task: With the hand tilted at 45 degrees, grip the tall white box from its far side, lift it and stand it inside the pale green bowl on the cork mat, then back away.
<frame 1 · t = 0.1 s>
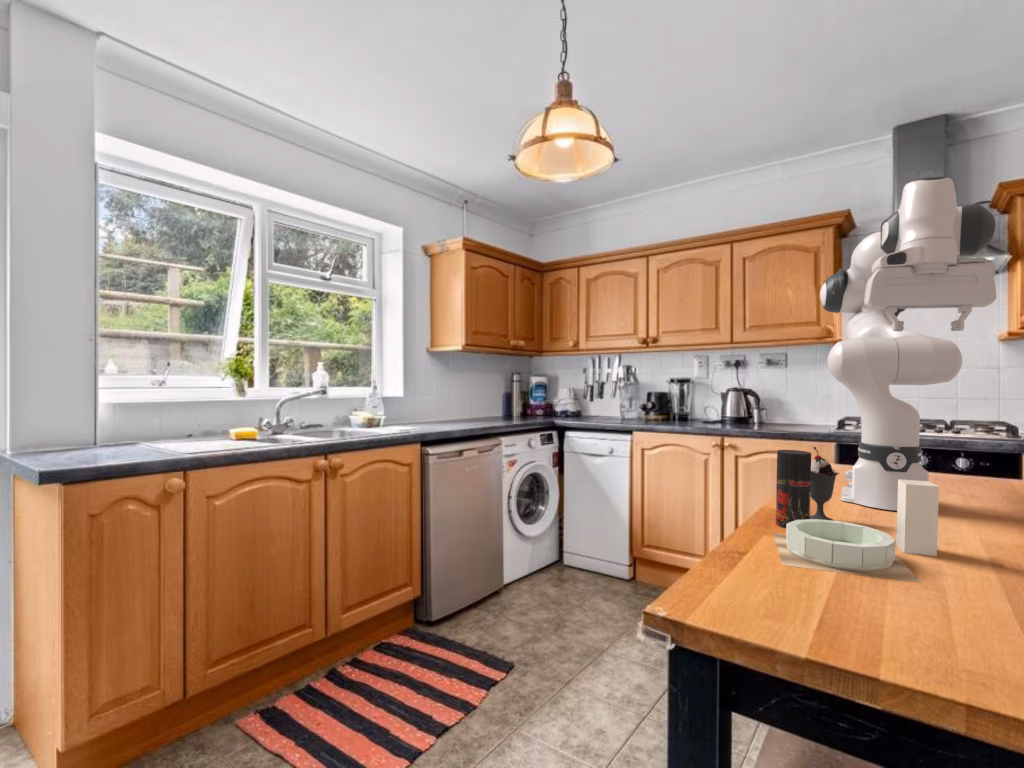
hand: (927, 330, 103), 39 cm above the table, tool pointing down, fingers open, 8 cm apart
deodorant: (792, 528, 106), on the table
tall white box: (915, 552, 92), on the table
cork mat: (837, 556, 89), on the table
sundae: (819, 520, 112), on the table
bowl: (837, 554, 89), resting on cork mat
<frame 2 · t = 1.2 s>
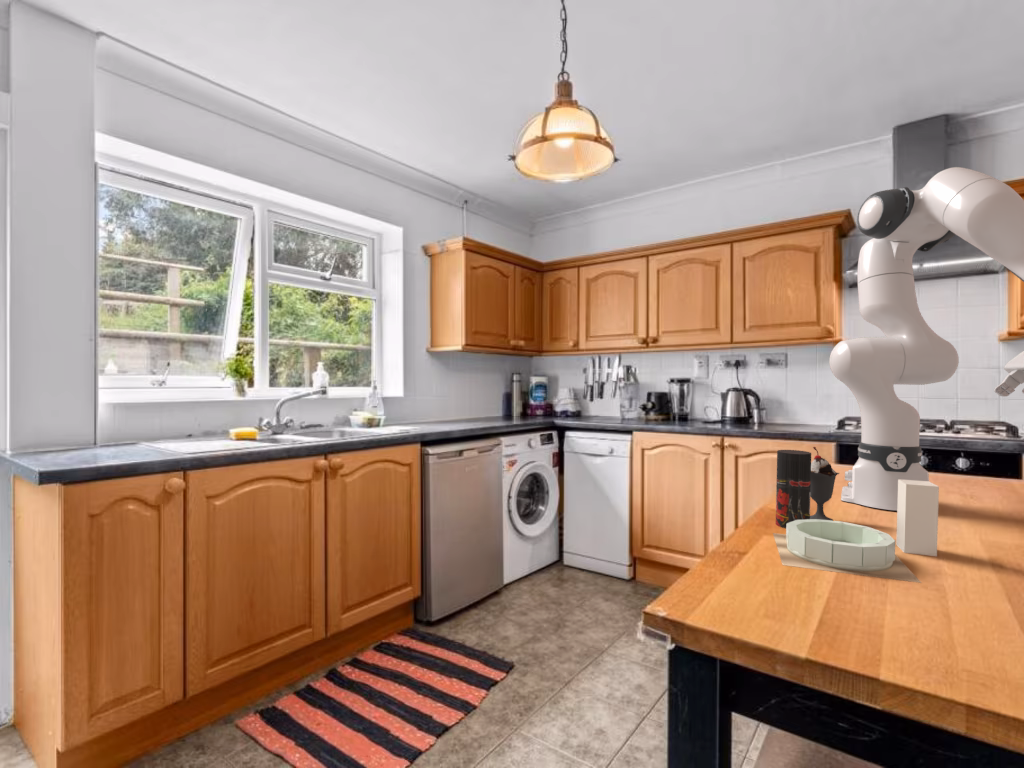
hand: (1012, 394, 87), 27 cm above the table, tool tilted 45°, fingers open, 8 cm apart
nothing on the table moved.
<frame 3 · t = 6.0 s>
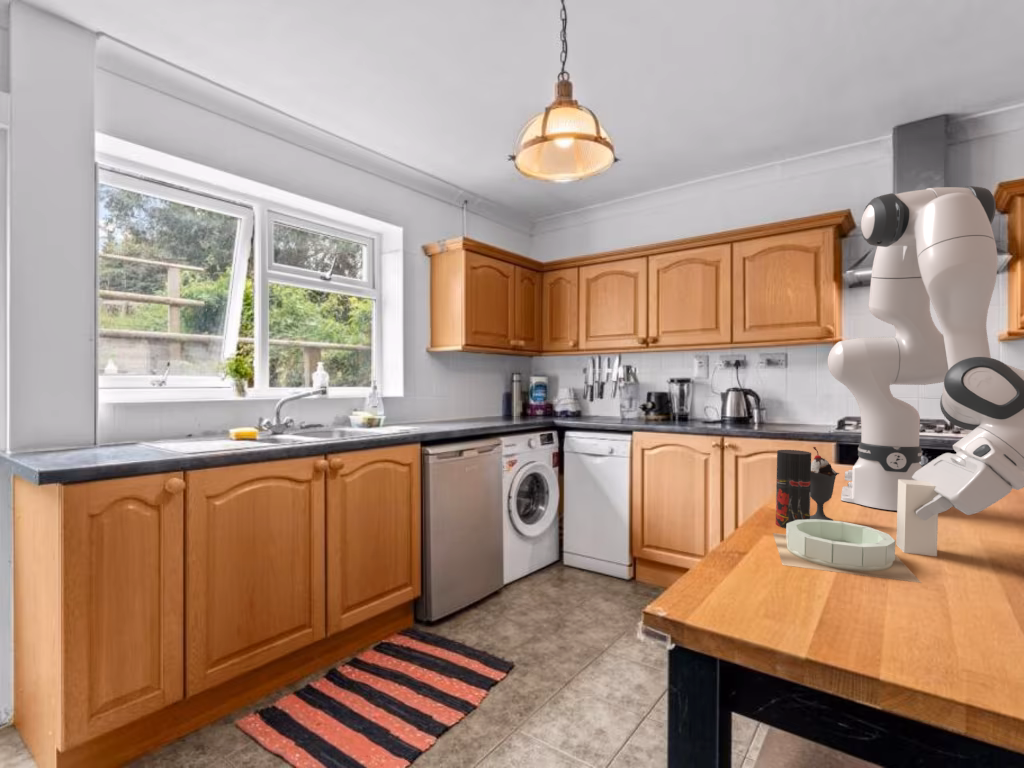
hand: (912, 512, 92), 7 cm above the table, tool tilted 45°, fingers closed on tall white box, 4 cm apart
tall white box: (915, 552, 92), on the table, touching gripper
everything else where it was.
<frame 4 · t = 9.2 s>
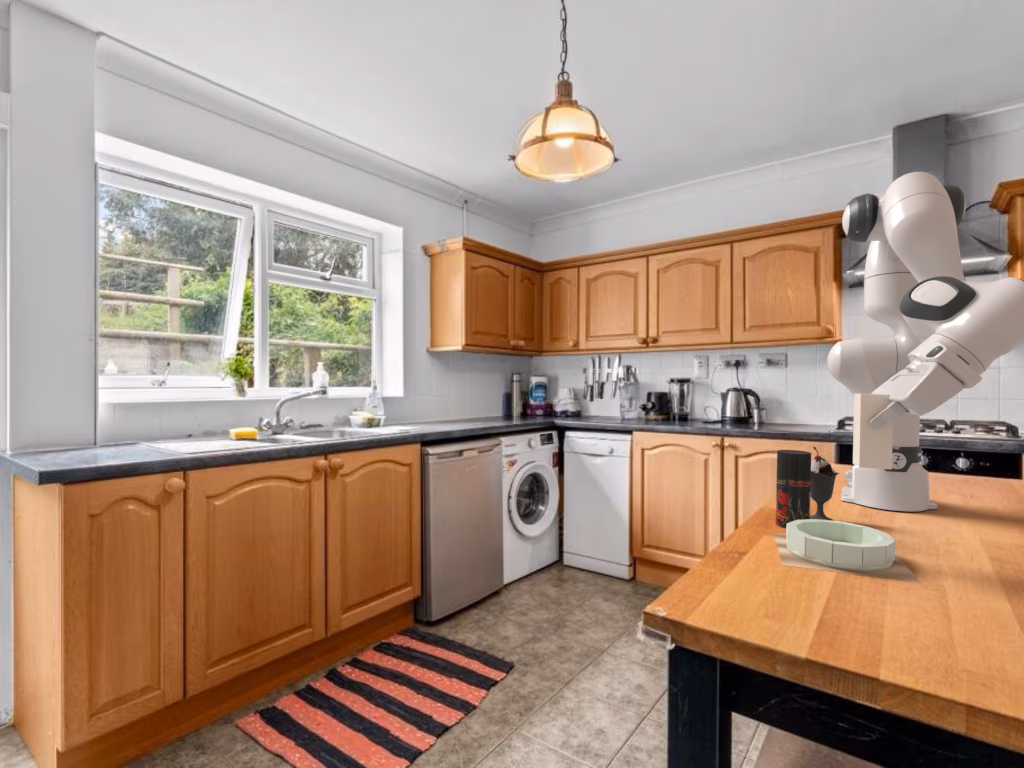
hand: (867, 424, 89), 22 cm above the table, tool tilted 45°, fingers closed on tall white box, 4 cm apart
tall white box: (871, 466, 89), point 15 cm above the table, touching gripper
everything else where it was.
when the fingers open (9 cm above the table, at t = 13.0 s): tall white box stays where it is, resting on bowl.
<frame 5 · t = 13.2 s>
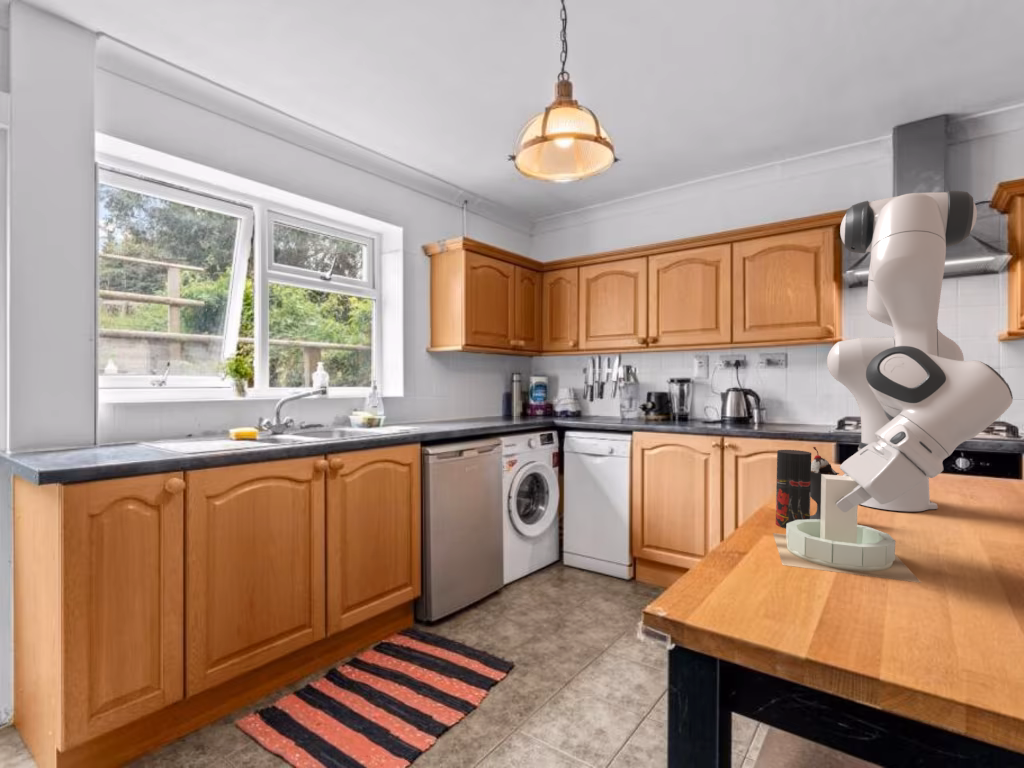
hand: (834, 502, 89), 9 cm above the table, tool tilted 45°, fingers open, 7 cm apart
tall white box: (837, 549, 89), point 1 cm above the table, touching bowl
everything else where it was.
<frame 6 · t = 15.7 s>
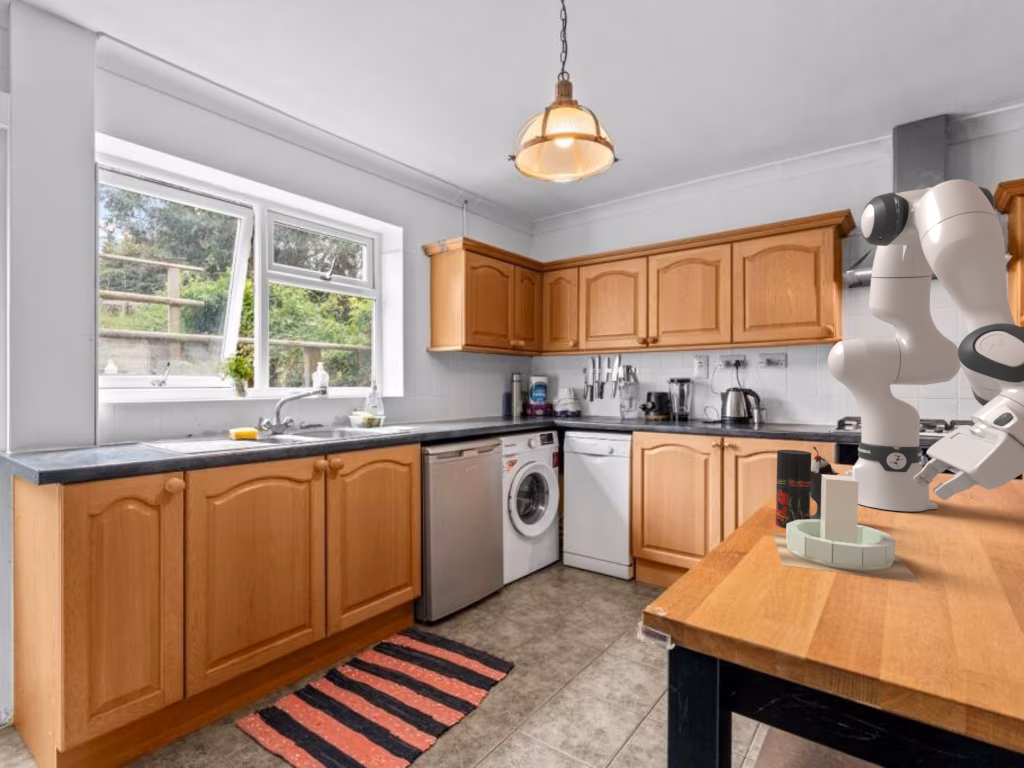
hand: (927, 488, 85), 12 cm above the table, tool tilted 45°, fingers open, 8 cm apart
nothing on the table moved.
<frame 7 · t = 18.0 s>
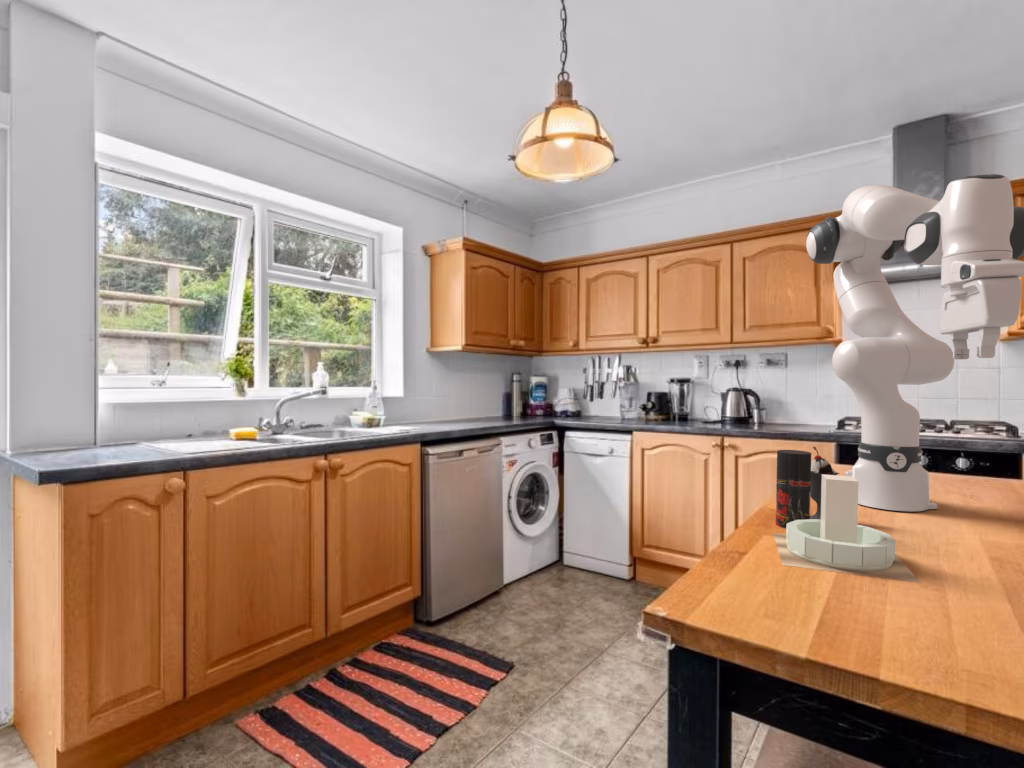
hand: (972, 358, 88), 33 cm above the table, tool pointing down, fingers open, 8 cm apart
nothing on the table moved.
at the end: tall white box 0.2 cm from the bowl (horizontally); tall white box tilted 0°; the gripper is holding nothing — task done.
